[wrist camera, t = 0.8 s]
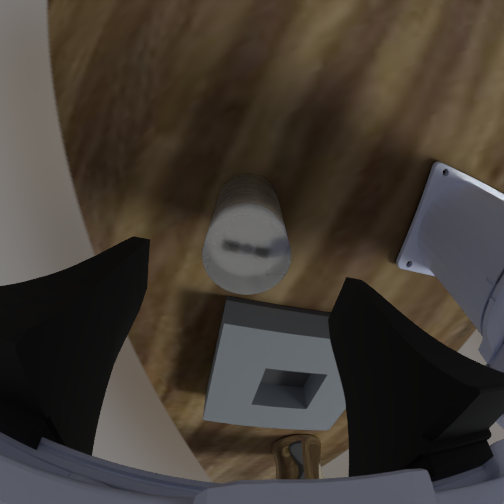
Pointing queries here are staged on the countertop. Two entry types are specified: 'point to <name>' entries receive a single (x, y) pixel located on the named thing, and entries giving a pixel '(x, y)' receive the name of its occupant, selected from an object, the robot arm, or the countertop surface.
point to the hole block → (273, 368)
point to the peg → (247, 237)
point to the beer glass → (298, 457)
